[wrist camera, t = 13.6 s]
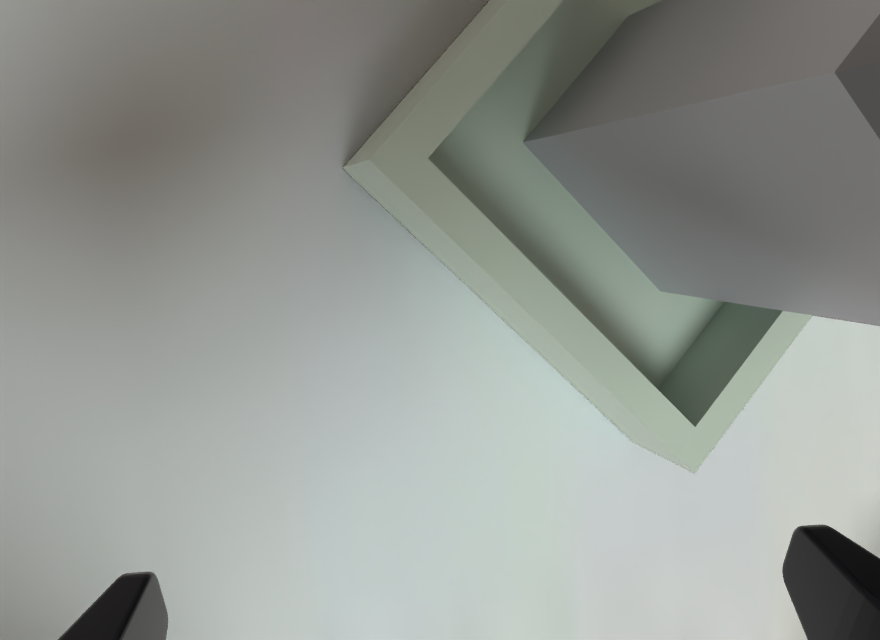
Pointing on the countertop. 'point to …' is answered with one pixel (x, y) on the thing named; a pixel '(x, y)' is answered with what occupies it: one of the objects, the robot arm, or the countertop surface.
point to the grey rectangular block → (734, 151)
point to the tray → (560, 233)
